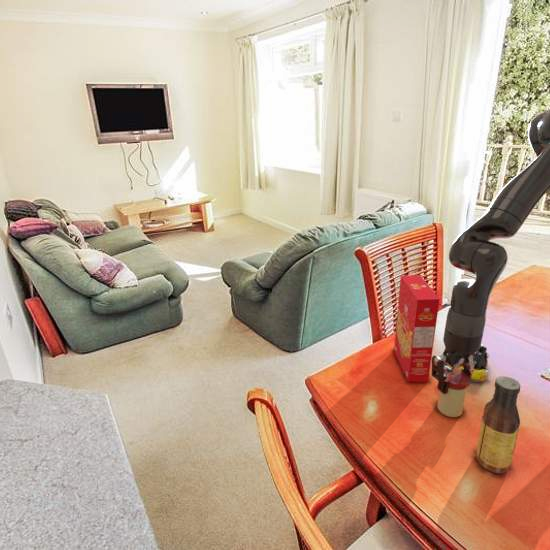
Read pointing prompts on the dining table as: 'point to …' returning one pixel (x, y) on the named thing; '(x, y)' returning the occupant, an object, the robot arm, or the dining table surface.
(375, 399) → the dining table surface
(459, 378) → the lid
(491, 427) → the sauce bottle
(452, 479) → the dining table surface
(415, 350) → the food packaging
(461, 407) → the jar
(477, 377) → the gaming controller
